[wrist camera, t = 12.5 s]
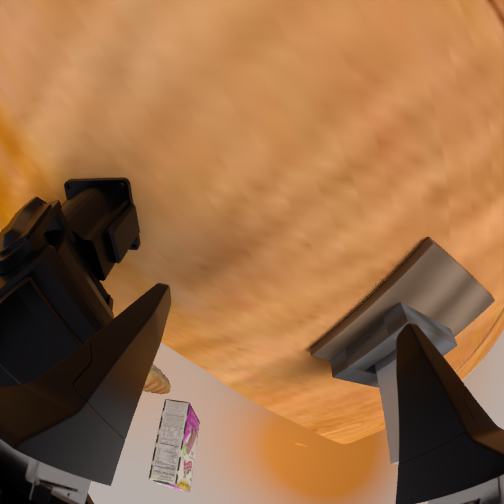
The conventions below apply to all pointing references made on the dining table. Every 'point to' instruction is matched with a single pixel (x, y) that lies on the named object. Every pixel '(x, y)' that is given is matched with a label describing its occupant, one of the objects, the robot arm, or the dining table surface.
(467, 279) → the grey square socket base
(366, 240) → the dining table surface
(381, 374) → the white block
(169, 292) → the robot arm
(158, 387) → the pastry
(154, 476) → the candy bar box
